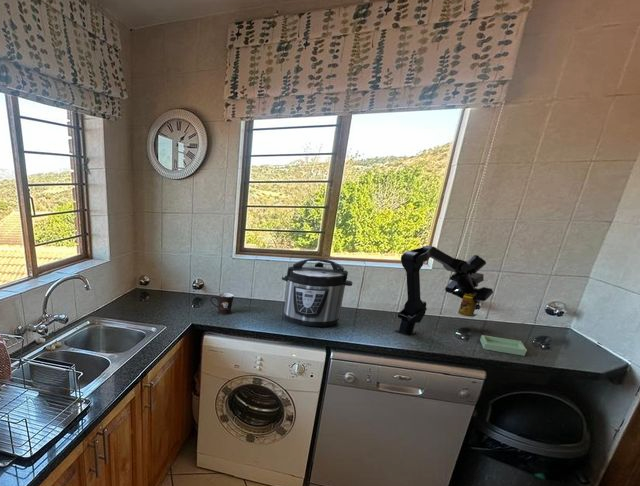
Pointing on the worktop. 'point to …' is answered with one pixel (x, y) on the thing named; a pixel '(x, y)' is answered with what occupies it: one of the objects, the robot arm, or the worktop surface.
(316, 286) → the pressure cooker
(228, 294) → the coffee mug
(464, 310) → the condiment
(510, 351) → the tray
